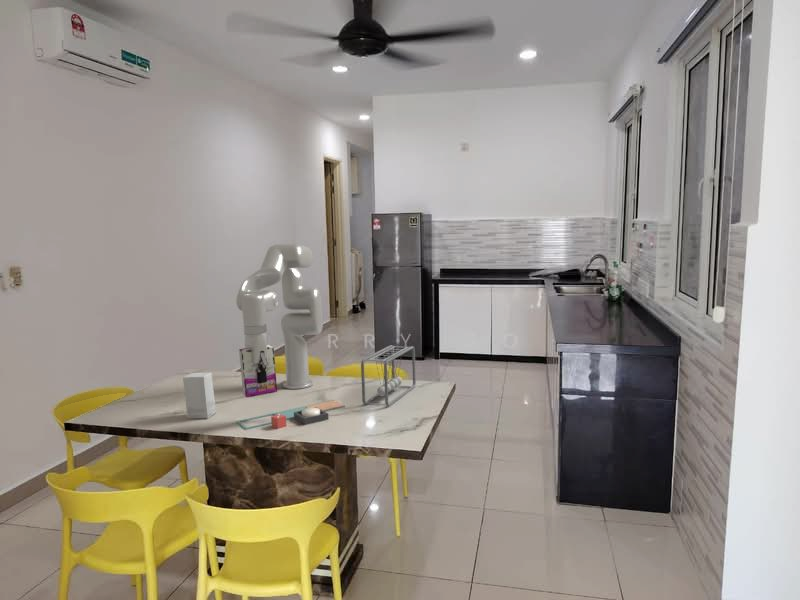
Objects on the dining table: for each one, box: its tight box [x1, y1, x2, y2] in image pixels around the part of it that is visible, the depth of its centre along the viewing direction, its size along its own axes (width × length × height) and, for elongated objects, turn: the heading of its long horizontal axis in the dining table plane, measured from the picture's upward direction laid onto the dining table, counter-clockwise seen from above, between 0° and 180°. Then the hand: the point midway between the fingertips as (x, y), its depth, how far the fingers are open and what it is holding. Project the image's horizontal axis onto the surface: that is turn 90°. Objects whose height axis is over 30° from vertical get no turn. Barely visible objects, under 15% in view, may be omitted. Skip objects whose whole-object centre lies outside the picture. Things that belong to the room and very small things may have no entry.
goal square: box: [305, 400, 345, 411], centre depth 211 cm, size 8×12×1 cm, turn 125°
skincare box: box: [182, 372, 217, 419], centre depth 204 cm, size 8×7×16 cm
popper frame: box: [294, 407, 329, 426], centre depth 198 cm, size 9×9×2 cm
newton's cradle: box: [360, 344, 417, 408], centre depth 222 cm, size 30×10×18 cm, turn 158°
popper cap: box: [302, 408, 320, 417], centre depth 198 cm, size 6×6×2 cm
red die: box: [270, 414, 287, 430], centre depth 191 cm, size 4×4×4 cm
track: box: [235, 399, 346, 430], centre depth 204 cm, size 10×38×1 cm, turn 125°
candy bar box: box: [238, 344, 278, 398], centre depth 195 cm, size 11×5×16 cm, turn 117°
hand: (259, 380), depth 196 cm, fingers closed on candy bar box, 5 cm apart
